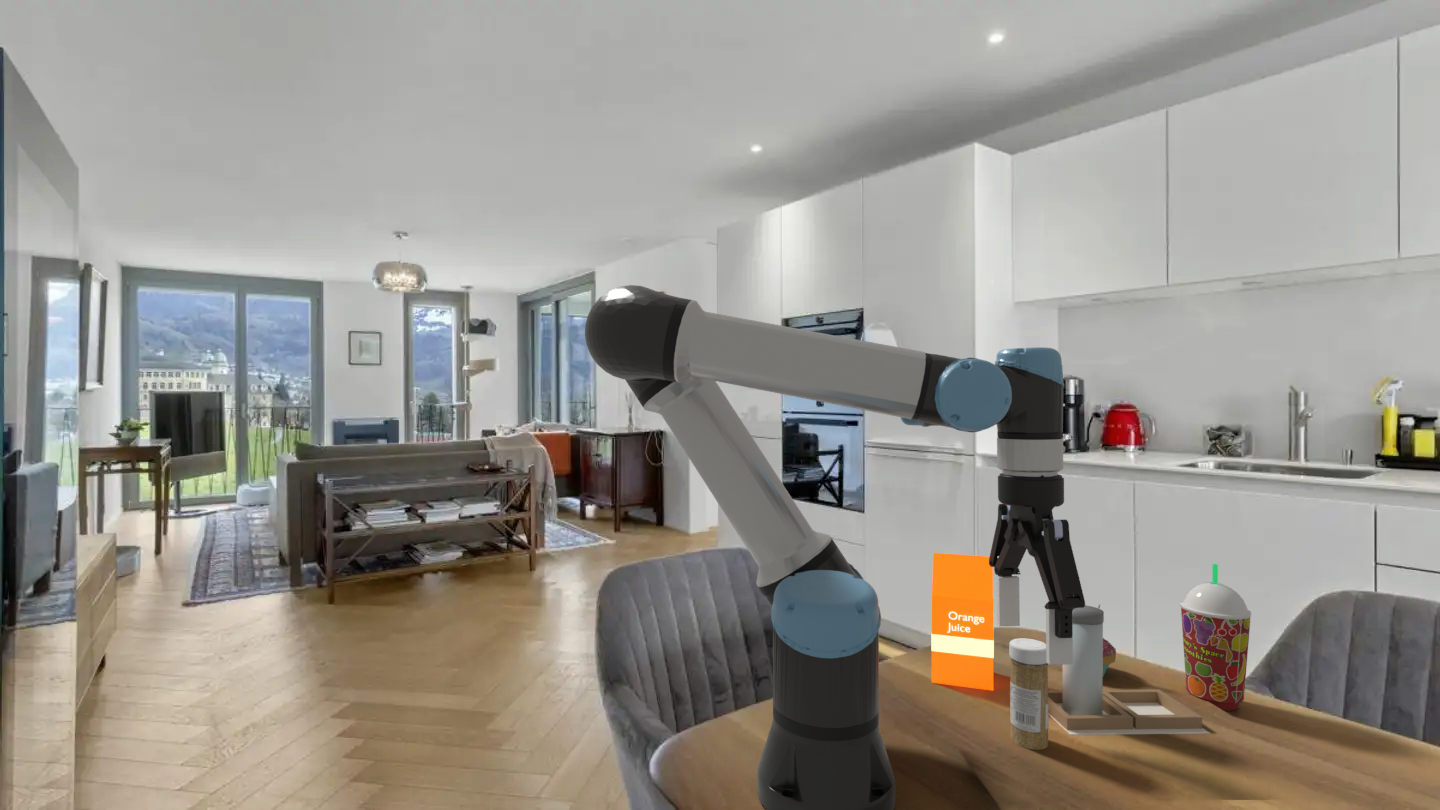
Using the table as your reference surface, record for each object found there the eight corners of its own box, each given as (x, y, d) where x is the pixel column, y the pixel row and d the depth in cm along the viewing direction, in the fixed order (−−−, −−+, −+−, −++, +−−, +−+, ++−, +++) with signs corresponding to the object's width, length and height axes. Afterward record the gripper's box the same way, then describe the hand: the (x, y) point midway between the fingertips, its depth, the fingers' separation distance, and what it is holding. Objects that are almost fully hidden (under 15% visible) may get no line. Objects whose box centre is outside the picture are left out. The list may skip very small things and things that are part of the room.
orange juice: (933, 671, 112) (933, 547, 112) (992, 679, 109) (992, 551, 109) (930, 690, 105) (931, 558, 105) (994, 699, 102) (994, 562, 102)
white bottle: (1073, 723, 92) (1073, 615, 92) (1054, 706, 97) (1054, 604, 97) (1111, 722, 92) (1111, 615, 92) (1090, 706, 97) (1090, 604, 97)
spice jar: (1056, 753, 86) (1057, 644, 86) (1035, 763, 84) (1035, 652, 84) (1022, 738, 90) (1023, 634, 90) (1001, 747, 88) (1001, 641, 88)
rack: (1070, 743, 89) (1070, 722, 89) (1030, 705, 100) (1030, 686, 100) (1210, 742, 89) (1210, 721, 89) (1154, 704, 100) (1154, 685, 100)
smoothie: (1166, 695, 103) (1166, 560, 103) (1205, 687, 106) (1206, 555, 106) (1223, 719, 95) (1224, 573, 95) (1264, 710, 98) (1265, 568, 98)
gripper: (1119, 484, 74) (1121, 682, 75) (1015, 463, 99) (1017, 611, 99) (1049, 485, 74) (1051, 684, 74) (963, 463, 99) (965, 612, 99)
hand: (1032, 643), depth 87 cm, fingers open, 13 cm apart
